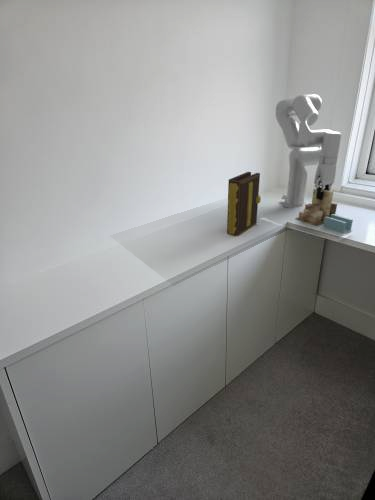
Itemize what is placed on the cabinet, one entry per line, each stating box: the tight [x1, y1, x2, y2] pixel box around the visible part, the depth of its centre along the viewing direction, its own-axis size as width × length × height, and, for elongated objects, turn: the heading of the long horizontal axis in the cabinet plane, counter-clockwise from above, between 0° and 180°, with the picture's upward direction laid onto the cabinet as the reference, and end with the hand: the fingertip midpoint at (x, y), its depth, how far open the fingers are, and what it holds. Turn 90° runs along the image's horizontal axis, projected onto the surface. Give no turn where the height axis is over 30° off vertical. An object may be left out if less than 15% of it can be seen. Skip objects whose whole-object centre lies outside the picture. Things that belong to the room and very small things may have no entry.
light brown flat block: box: [311, 187, 334, 216], centre depth 160 cm, size 9×2×14 cm, turn 35°
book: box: [226, 171, 262, 237], centre depth 151 cm, size 22×8×25 cm, turn 143°
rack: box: [294, 202, 338, 227], centre depth 160 cm, size 13×14×9 cm
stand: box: [322, 213, 354, 234], centre depth 149 cm, size 10×9×6 cm
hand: (322, 197), depth 159 cm, fingers open, 4 cm apart
